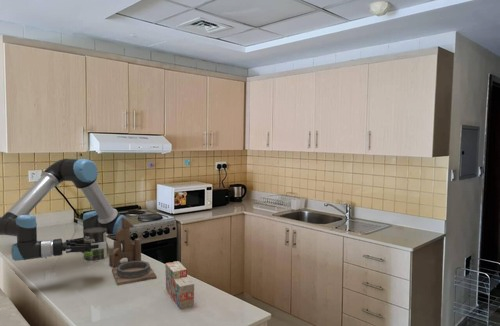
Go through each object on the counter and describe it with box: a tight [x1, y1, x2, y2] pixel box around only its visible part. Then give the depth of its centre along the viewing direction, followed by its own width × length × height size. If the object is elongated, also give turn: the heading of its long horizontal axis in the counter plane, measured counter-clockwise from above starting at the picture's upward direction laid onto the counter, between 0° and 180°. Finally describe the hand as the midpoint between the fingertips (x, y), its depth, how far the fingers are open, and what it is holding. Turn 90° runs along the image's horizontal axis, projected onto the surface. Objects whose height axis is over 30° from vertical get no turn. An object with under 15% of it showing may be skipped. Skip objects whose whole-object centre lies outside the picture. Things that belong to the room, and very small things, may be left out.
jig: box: [111, 260, 157, 286], centre depth 182 cm, size 20×18×4 cm
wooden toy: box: [108, 217, 142, 269], centre depth 197 cm, size 15×7×25 cm, turn 130°
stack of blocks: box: [164, 260, 195, 309], centre depth 157 cm, size 21×6×12 cm, turn 28°
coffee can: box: [82, 227, 108, 263], centre depth 175 cm, size 10×10×14 cm
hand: (105, 241), depth 177 cm, fingers closed on coffee can, 10 cm apart
